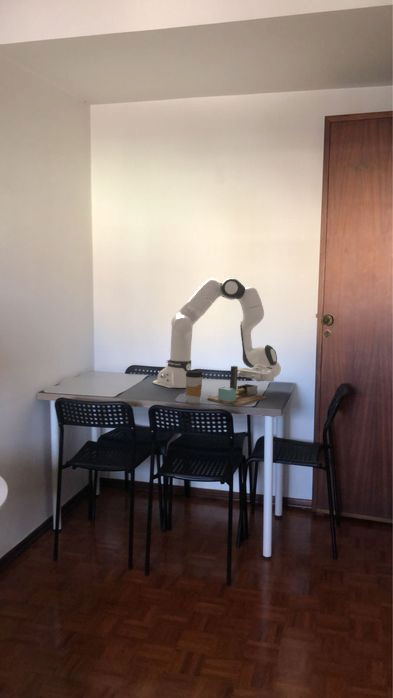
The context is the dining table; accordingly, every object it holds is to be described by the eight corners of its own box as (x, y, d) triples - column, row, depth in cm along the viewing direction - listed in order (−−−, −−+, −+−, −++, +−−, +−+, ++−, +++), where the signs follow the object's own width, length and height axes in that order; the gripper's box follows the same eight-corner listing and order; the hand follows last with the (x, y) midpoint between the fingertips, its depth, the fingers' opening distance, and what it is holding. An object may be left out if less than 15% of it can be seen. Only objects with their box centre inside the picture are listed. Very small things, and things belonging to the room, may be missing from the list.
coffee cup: (195, 404, 276) (197, 373, 274) (181, 402, 280) (182, 371, 278) (205, 401, 283) (206, 371, 281) (190, 399, 287) (191, 369, 285)
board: (207, 399, 287) (207, 397, 287) (236, 392, 308) (236, 390, 307) (238, 406, 277) (238, 404, 276) (266, 398, 297) (266, 396, 297)
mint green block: (218, 399, 285) (218, 388, 284) (223, 398, 289) (224, 386, 288) (229, 401, 281) (230, 390, 280) (235, 400, 284) (236, 389, 284)
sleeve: (236, 394, 297) (237, 386, 297) (246, 392, 304) (246, 383, 303) (247, 396, 293) (248, 388, 293) (256, 394, 300) (257, 385, 300)
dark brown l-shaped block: (223, 397, 285) (225, 367, 283) (239, 393, 296) (241, 364, 294) (228, 398, 283) (230, 367, 281) (244, 394, 294) (246, 364, 292)
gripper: (243, 364, 312) (228, 367, 301) (277, 369, 299) (262, 372, 289) (243, 375, 313) (228, 379, 302) (276, 381, 300) (262, 384, 290)
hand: (245, 375), depth 295 cm, fingers open, 8 cm apart
